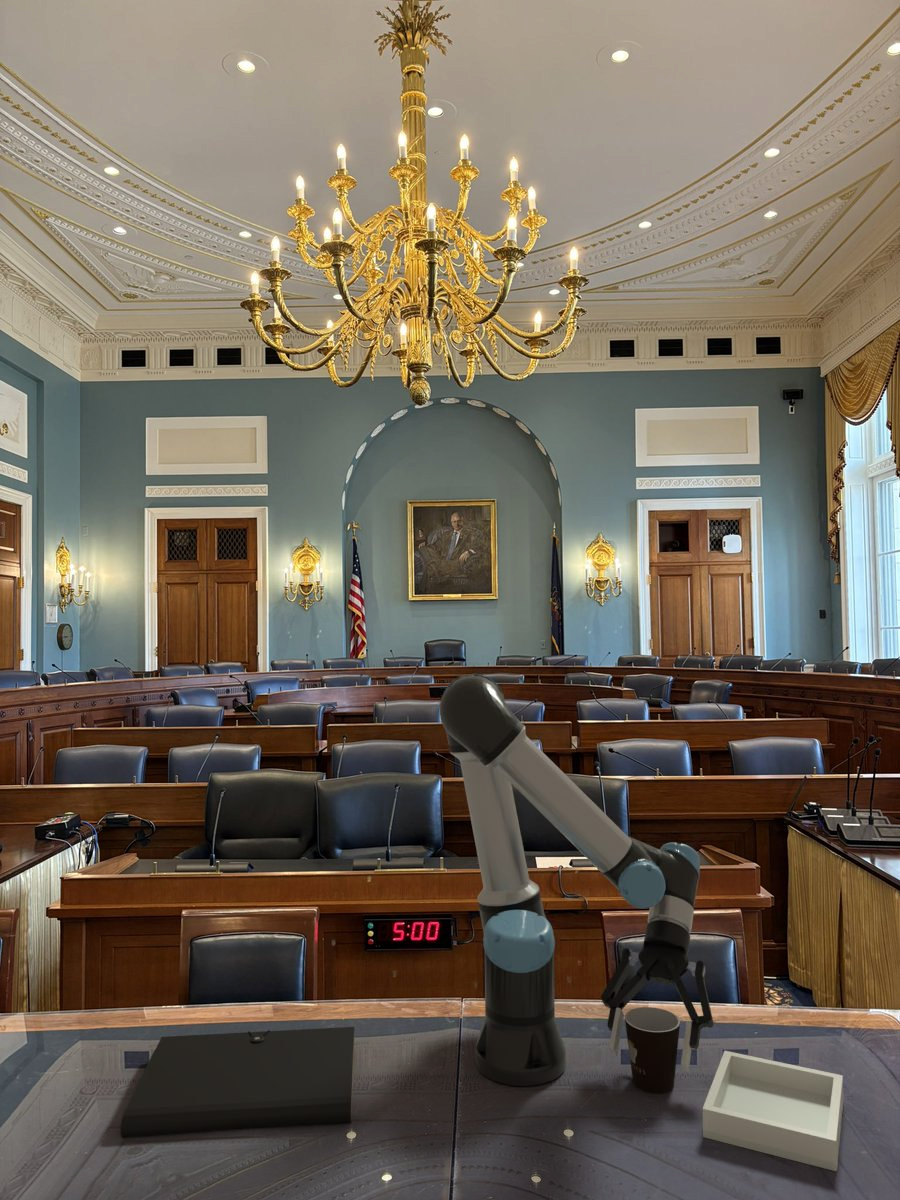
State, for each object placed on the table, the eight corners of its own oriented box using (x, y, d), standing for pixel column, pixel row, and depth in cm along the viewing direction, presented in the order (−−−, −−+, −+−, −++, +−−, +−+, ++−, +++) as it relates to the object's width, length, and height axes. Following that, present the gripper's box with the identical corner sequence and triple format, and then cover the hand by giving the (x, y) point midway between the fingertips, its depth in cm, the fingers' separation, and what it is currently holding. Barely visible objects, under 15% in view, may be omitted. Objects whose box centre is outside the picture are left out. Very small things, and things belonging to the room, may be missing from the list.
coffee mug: (683, 1100, 131) (681, 1034, 131) (625, 1094, 133) (624, 1029, 133) (678, 1062, 142) (677, 1001, 143) (625, 1057, 144) (624, 997, 145)
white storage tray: (703, 1137, 122) (702, 1108, 122) (725, 1075, 138) (724, 1050, 138) (836, 1171, 114) (836, 1141, 114) (843, 1102, 130) (842, 1075, 130)
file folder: (354, 1023, 150) (350, 1102, 126) (354, 1047, 150) (351, 1130, 126) (161, 1034, 147) (120, 1116, 123) (161, 1058, 147) (120, 1145, 123)
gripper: (740, 949, 147) (727, 1085, 132) (608, 929, 157) (583, 1053, 143) (734, 928, 142) (720, 1067, 128) (599, 908, 153) (572, 1034, 138)
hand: (648, 1059), depth 135 cm, fingers open, 11 cm apart
